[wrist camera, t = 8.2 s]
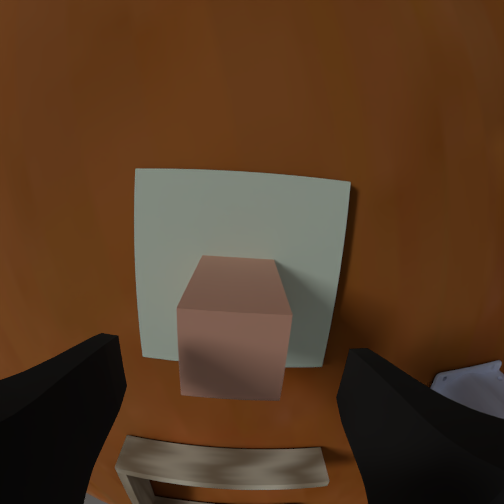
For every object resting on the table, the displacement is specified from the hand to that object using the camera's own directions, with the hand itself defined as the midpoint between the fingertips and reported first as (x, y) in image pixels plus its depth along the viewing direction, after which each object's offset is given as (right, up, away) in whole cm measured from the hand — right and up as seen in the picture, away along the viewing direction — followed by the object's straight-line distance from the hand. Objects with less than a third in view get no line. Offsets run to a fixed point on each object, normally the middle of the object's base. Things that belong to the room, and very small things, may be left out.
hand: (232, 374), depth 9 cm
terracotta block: (0, +1, +9) cm, 9 cm away
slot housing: (-2, -19, +15) cm, 24 cm away
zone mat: (0, +2, +9) cm, 9 cm away
